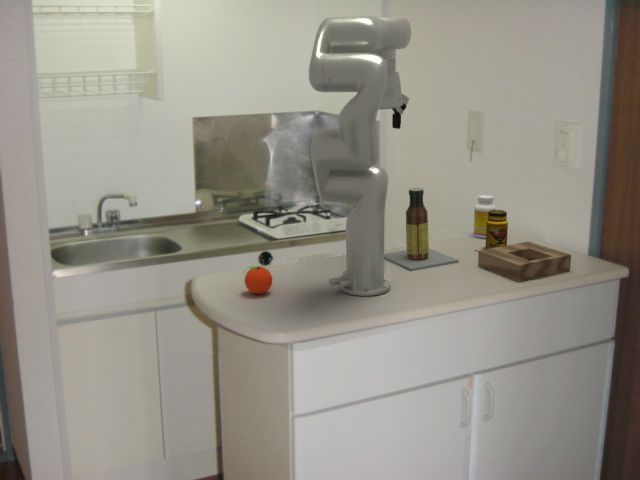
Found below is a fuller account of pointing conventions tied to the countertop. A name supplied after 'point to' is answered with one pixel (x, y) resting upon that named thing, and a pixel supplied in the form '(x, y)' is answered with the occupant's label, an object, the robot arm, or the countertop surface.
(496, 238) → the condiment
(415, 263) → the rubber mat
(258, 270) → the clementine
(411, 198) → the sauce bottle
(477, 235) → the supplement bottle
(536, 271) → the socket block
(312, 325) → the countertop surface
